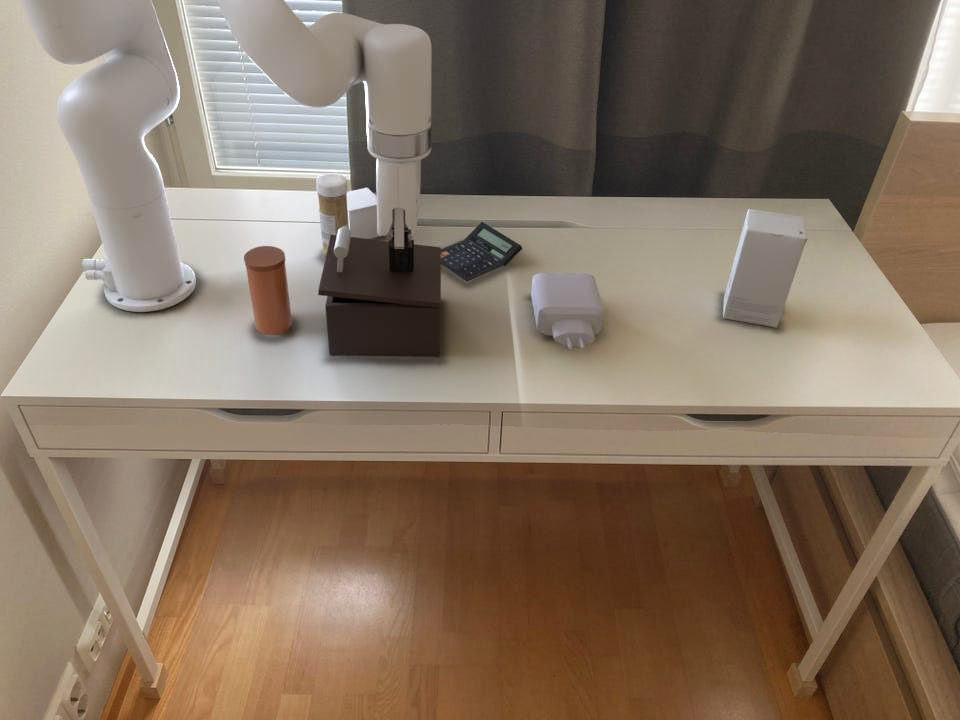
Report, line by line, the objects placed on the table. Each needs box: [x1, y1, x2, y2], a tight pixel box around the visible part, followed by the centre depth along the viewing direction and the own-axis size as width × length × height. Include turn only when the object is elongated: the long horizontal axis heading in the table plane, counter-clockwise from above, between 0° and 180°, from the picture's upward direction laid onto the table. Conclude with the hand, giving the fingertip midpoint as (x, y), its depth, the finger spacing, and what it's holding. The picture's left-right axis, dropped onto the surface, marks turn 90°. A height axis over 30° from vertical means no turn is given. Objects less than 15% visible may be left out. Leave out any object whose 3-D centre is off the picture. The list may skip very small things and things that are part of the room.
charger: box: [530, 272, 605, 350], centre depth 113 cm, size 5×9×15 cm
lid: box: [317, 227, 442, 309], centre depth 105 cm, size 15×14×5 cm
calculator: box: [441, 221, 523, 282], centre depth 127 cm, size 9×12×3 cm
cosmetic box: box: [722, 208, 809, 329], centre depth 115 cm, size 8×7×16 cm
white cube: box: [346, 187, 381, 239], centre depth 131 cm, size 6×6×6 cm
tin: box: [243, 245, 293, 336], centre depth 108 cm, size 5×5×12 cm
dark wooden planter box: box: [325, 296, 441, 358], centre depth 110 cm, size 15×14×9 cm
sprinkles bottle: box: [315, 172, 349, 257], centre depth 122 cm, size 5×5×14 cm
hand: (401, 268), depth 106 cm, fingers closed
